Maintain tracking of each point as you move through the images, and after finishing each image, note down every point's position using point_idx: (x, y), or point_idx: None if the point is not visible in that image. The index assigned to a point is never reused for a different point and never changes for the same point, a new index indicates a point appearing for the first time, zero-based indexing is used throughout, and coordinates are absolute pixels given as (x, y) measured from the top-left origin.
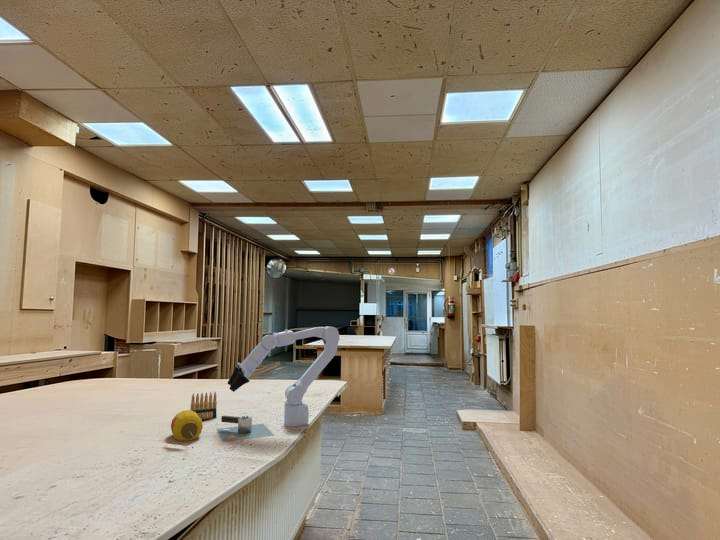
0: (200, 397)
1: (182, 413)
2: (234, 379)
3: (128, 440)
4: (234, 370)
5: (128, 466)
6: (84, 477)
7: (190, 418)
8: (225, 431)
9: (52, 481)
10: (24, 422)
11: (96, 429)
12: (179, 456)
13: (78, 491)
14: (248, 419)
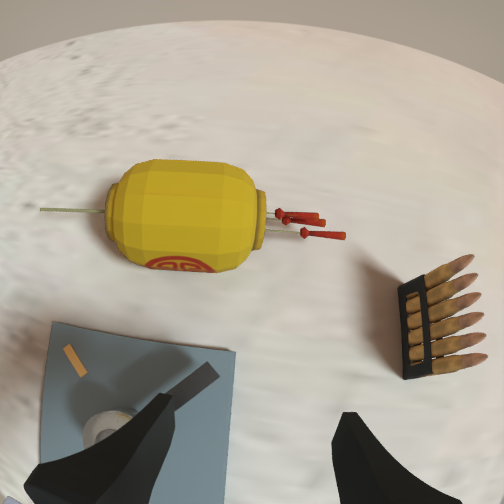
0: (465, 294)
1: (182, 168)
2: (348, 477)
3: (273, 123)
4: (394, 500)
5: (71, 116)
6: (75, 76)
7: (117, 193)
8: (174, 373)
9: (94, 53)
10: (448, 68)
11: (394, 105)
12: (50, 199)
13: (31, 81)
14: (84, 445)
